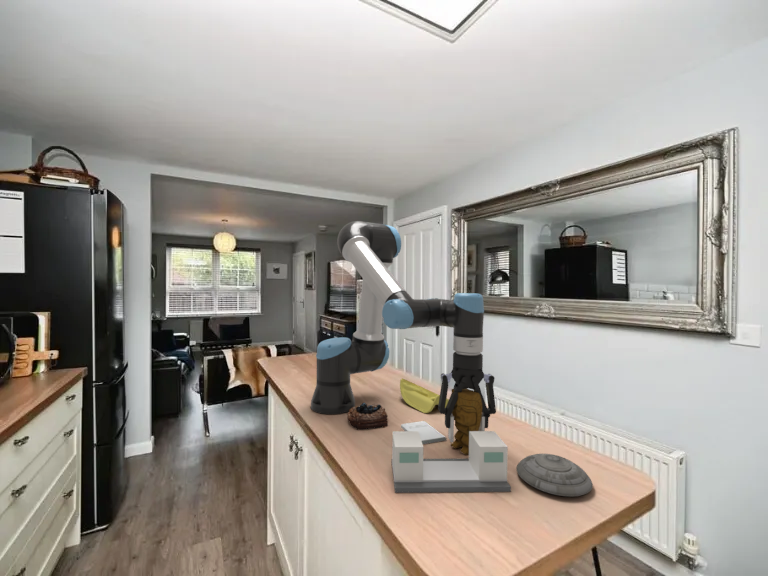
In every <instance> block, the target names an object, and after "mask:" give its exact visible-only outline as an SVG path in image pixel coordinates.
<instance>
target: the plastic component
mask: <svg viewBox="0 0 768 576" xmlns="http://www.w3.org/2000/svg"><path fill="white" fill-rule="evenodd" d="M399 381H400V382H399V389H400V395H401V398H402V400H403V401H404V402H405V403H406V404H407V405H409V406H410V407H412V408H414V409H416V410H417V411H419V412H420V413H423V414H430V413H431V412H432V411H433V409H434V408H435V406H438V404H439V398H440V394H438V393H436V392H433V391H431V390H429V389H428V388H425V387H423V386H420V385H418V384H416V383H415V382H414V383H413V382H412V381H410V380H408V379H404V378H401V379H400V380H399ZM448 401H449V398H446V404H445V408H446V406H447V403H448Z"/></svg>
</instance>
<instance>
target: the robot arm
mask: <svg viewBox="0 0 768 576" xmlns="http://www.w3.org/2000/svg"><path fill="white" fill-rule="evenodd" d="M336 241H337V248H338V251H339V253H340V254H341V256H342V257H343V258H344V260H345V261H347V262H350V263H351V264H352V265H353V267H354V268H355V270H356V271H357V272H358V274H359V275H360V277H361V278H362V281H361V292H360V302H359V312H358V321H357V323H358V325H357V330H356V331H355V332H353V334H352V340H351V338H349V337H345V336H344V337H343V336H342V337H332V338H328V339H324V340H322V341H320V342H319V343H318V345H317V347H316V355H315V357H316V382H315V383H316V384H315V385H316V386H315V388H314V392H313V395H312V397H311V400H310V408H311V411H313V412H315V413H317V414H323V415H340V414H344V413H349V410H350V409H351V408H352V407H356V398H355V396H354V392H353V388H352V386H351V375H353V374H362V373H367V372H370V373H371V372H375V371H377V370H378V371H379V370H381V369H382V368H384V367H386V364H387V363H388V361H389V359H390V347H389V344H388V342H387V340H385V335H384V334H383V332H382V325H383V323H384V324H385V326H386V327H387V328H388V329H389V328H390V329H392V330H406V329H412V328H413V329H414V328H428V327H447V328H453V343H452V350H453V351H454V352H453V353H452V370H451V372H450V373H441V374H440V379H441V380H440V381H441V385H440V391H439V395H440V398H439V404H438V405H437V410H438V411H439V413H440V414H441V415H444V426H445V428H446V429H448V435H447V438H448V440H449V442H450V443H453V442H454V441H455V440H454V439H455V437H454V435H455V434H454V433H455V420H454V416H453V415H452V411H453V409H454V407H455V404H456V402H457V399H458V392H461V391H462V389H469V390H473V391H475V392H476V393H479V394H480V396H481V401H482V417H481V423H480V427H479V431H486V430H485V429H488V428H489V418H490V417H491V415H495V414H496V413H497V409H496V400H495V392H494V382H495V379H496V378H495V376H494V375H492V374H491V373H484V370H483V368H484V367H483V361H484V358H483V357H484V355H483V354H482V353H483V352H484V331H483V330H484V318H485V317H484V316H485V308H484V307H485V304H484V297H483V294H481V293H478V292H477V293H473V292H472V293H471V292H468V293H467V292H456V293H455V294H454V296H453V299H445V298H444V299H443V298H437V297H435V298H432V297H431V298H425V299H422V298H421V299H419V298H418V299H415V298H413V297H412V296H411V295H410V294H409V293H408V292H407V291H406V289H405V288H404V287H403V286H402V284H401V283H400V282H399V281H398V280H397V278H396V277H395V276H394V275H393V273H392V272H391V271H390V270H389V267H390V266H391V265H393V262H394V261H393V260H394V258H397V257H398V256H399V254H400V252H401V250H402V238H401V234H400V233H399V232H398V229H397V228H396V227H394V226H392V225H388V224H386V223H385V224H384V223H378V222H369V221H363V220H355V221H350V222H348V223H347V224H344V226H343V227H342V228H341V229H340V230H339V232H338V235H337V240H336ZM451 379H452V380H454V382H455V383H454V385H453V388H452V389H453V390H454V392H453V393H452V392H451V393H450V395H449V398H447V396H448V391H449V383H450V382H451ZM482 381H483V382H485V391H486V400H487V405H486V401H485V398H484V395H483V393H482V390H481V387H480V383H481V382H482ZM446 398H447V399H449V401H448V403H447V406H446V408H445V404H446Z"/></svg>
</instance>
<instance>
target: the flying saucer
mask: <svg viewBox="0 0 768 576" xmlns="http://www.w3.org/2000/svg"><path fill="white" fill-rule="evenodd" d="M515 470H516V472H517V475H518V476H519V477H520V479H522V480H523V481H524V482H525V483H527V484H528V485H529V486H531V487H533V488H535V489H537V490H539V491H542V492H544V493H548V494H551V495H553V496H554V495H555V496H559V497H560V496H562V497H579V496H583V495H586V494H589V493H590V492H591V491H592V489H593V487H594V486H593V482H592V479H591V478H590V476H589V475H588V473H587V472H585V470H584V469H583V468H582V467H580V466H579V465H578V464H576V463H575V462H573V461H571V460H569V459H567V458H565V457H563V456H560V455H556V454H551V453H534V454H530V455H528V456H526V457H524V458H522V459H521V460H520V461H519V462H518V463H517V465H516V469H515Z"/></svg>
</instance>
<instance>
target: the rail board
mask: <svg viewBox="0 0 768 576" xmlns="http://www.w3.org/2000/svg"><path fill="white" fill-rule="evenodd" d="M391 436H392V440H391V441H392V443H391V444H392V446H391V448H392V449H391V450H392V451H391V453H392V454H391V456H392V457H391V468H392V478H393V480H392V481H393V486H394V493H396V494H397V493H401V494H402V493H409V494H411V493H412V494H413V493H497V492H498V493H500V492H501V493H503V492H506V493H511V492H512V486H511V485H510V483H509V482H508V456H509V455H508V452H509V451H508V450H509V448H508V447H509V446H508V445H507V444H506V443H505V442H504V440H502V438H501V437H500V436H499V434H497V432H496V431H495V430H485V431H469V454H468V458H424V444H422V441H421V438H420V435H419V432H418V431H404V430H400V431H399V430H398V431H396V430H395V431H394V430H393V431H392V435H391Z"/></svg>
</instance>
